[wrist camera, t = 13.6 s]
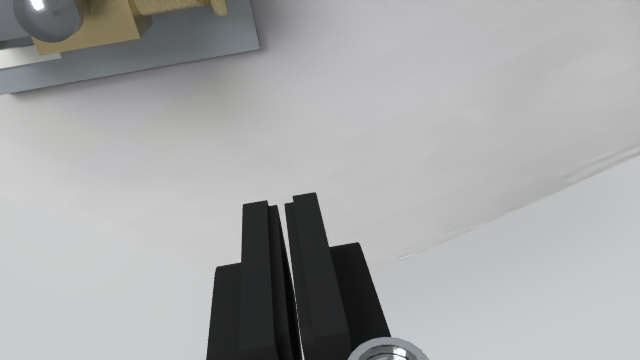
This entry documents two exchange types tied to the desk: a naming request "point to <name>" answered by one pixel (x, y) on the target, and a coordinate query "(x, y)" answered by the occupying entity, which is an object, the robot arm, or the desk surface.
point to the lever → (40, 19)
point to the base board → (134, 50)
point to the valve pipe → (120, 22)
